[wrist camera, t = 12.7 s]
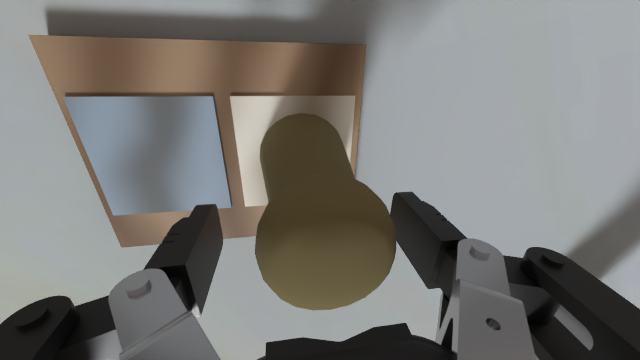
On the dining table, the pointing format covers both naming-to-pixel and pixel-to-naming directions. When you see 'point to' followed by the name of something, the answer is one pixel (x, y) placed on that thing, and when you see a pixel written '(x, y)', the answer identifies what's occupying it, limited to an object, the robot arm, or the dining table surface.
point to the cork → (319, 219)
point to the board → (192, 120)
